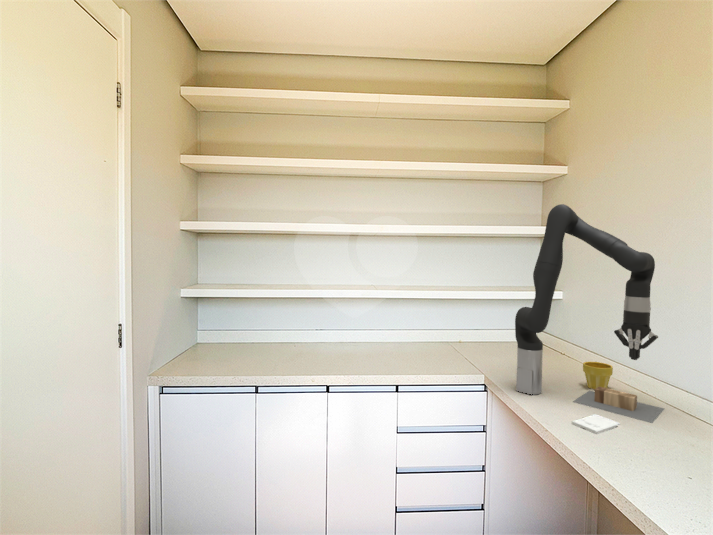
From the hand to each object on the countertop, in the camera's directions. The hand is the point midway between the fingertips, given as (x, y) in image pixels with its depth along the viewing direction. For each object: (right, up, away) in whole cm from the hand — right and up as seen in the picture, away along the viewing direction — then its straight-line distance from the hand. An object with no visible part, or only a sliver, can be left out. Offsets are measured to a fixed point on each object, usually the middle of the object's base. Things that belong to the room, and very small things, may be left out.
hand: (634, 359), depth 138 cm
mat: (-3, -18, +5) cm, 19 cm away
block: (+1, -16, +1) cm, 16 cm away
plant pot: (+2, -18, +24) cm, 30 cm away
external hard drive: (-20, -20, -10) cm, 29 cm away
